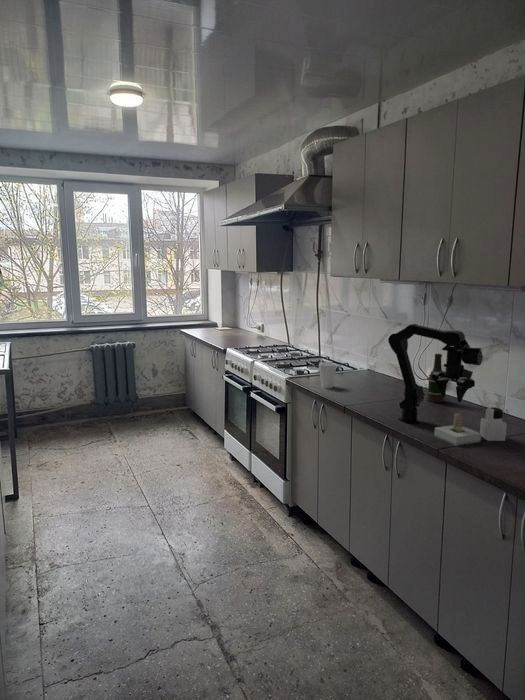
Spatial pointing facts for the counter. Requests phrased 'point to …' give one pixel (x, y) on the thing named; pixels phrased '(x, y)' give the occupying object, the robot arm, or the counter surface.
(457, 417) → the dowel
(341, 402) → the counter surface
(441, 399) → the beer bottle
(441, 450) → the counter surface
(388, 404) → the counter surface
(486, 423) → the medicine bottle
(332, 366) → the foam cup
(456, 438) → the bore block
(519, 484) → the counter surface
